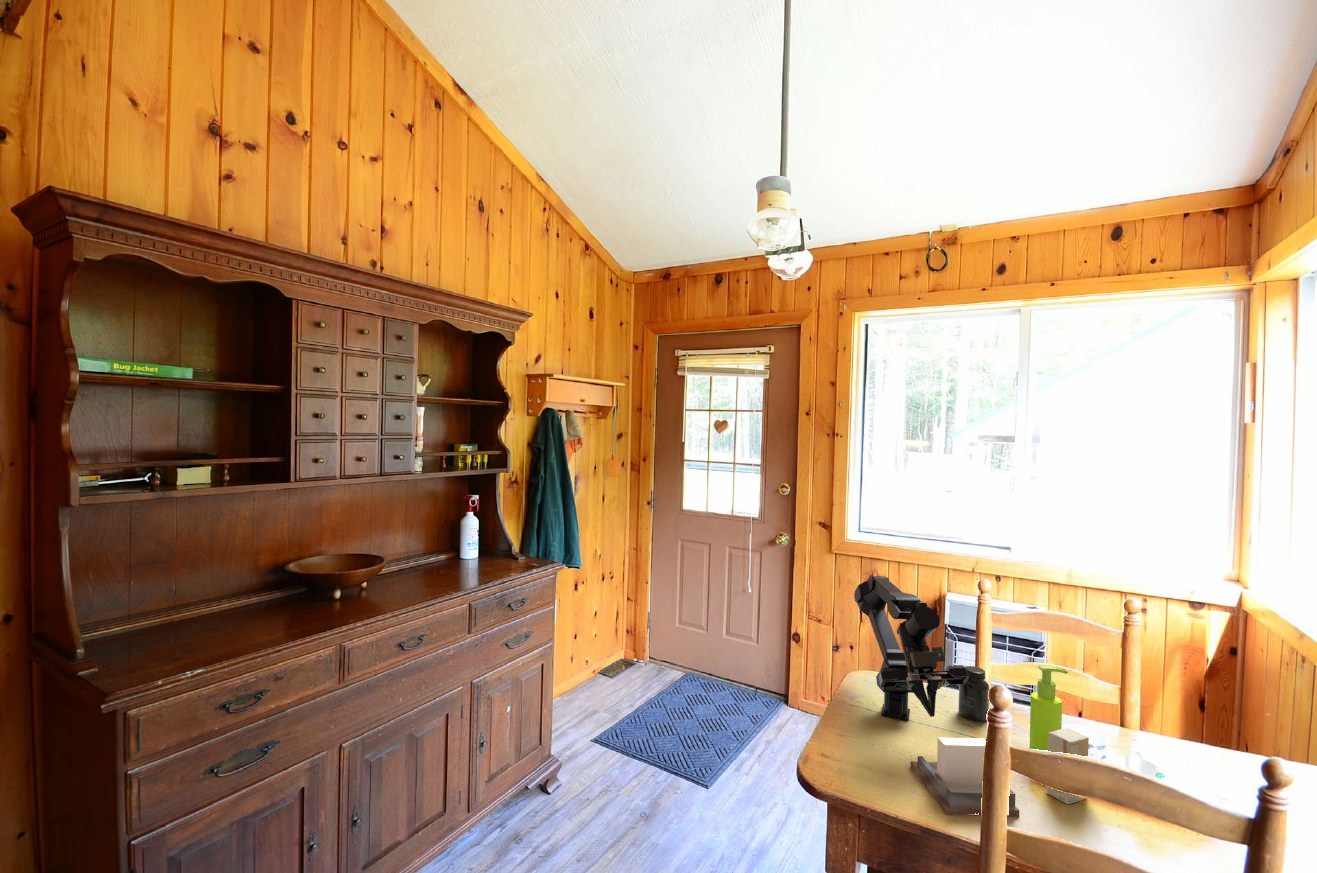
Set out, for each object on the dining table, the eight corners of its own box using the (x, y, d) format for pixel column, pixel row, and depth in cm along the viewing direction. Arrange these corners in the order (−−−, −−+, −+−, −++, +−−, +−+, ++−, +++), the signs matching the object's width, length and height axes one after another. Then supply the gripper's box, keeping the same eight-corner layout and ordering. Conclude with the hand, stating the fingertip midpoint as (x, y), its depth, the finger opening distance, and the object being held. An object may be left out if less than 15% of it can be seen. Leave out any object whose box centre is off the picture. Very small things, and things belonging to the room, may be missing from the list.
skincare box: (1067, 806, 114) (1069, 742, 114) (1045, 793, 118) (1046, 732, 118) (1088, 798, 117) (1090, 736, 117) (1066, 786, 121) (1067, 726, 121)
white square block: (934, 778, 120) (935, 734, 120) (979, 779, 120) (980, 736, 120) (943, 789, 116) (944, 745, 116) (990, 791, 116) (991, 746, 116)
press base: (910, 767, 127) (910, 747, 127) (974, 768, 126) (974, 749, 126) (946, 814, 111) (946, 792, 111) (1019, 816, 110) (1019, 794, 110)
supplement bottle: (973, 709, 155) (974, 663, 155) (995, 721, 149) (996, 673, 149) (952, 711, 153) (953, 665, 153) (973, 724, 147) (974, 676, 147)
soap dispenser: (1071, 765, 129) (1073, 673, 129) (1035, 761, 130) (1038, 670, 130) (1058, 751, 135) (1060, 663, 135) (1025, 747, 136) (1027, 660, 136)
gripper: (876, 635, 137) (891, 707, 127) (962, 631, 133) (985, 704, 123) (873, 652, 145) (887, 721, 135) (954, 649, 142) (975, 719, 132)
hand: (932, 716), depth 131 cm, fingers closed
